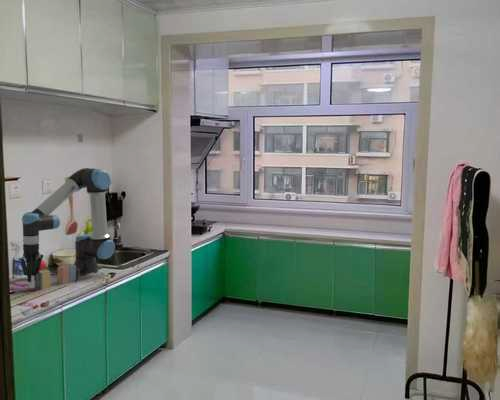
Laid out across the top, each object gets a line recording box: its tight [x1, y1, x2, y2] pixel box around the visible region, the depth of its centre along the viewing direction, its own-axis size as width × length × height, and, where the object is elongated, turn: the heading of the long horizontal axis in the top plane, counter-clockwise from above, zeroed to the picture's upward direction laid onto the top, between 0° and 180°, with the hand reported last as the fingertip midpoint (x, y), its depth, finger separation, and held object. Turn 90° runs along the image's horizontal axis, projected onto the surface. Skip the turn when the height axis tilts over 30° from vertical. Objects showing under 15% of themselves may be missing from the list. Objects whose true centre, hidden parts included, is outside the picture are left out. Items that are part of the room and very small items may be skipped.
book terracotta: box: [57, 265, 71, 285], centre depth 262 cm, size 4×5×9 cm
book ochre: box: [39, 269, 51, 290], centre depth 252 cm, size 4×5×9 cm
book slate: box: [63, 263, 77, 283], centre depth 266 cm, size 4×5×9 cm
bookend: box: [30, 272, 43, 292], centre depth 248 cm, size 4×5×9 cm
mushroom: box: [39, 259, 48, 271], centre depth 272 cm, size 11×11×12 cm
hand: (31, 287), depth 246 cm, fingers closed
